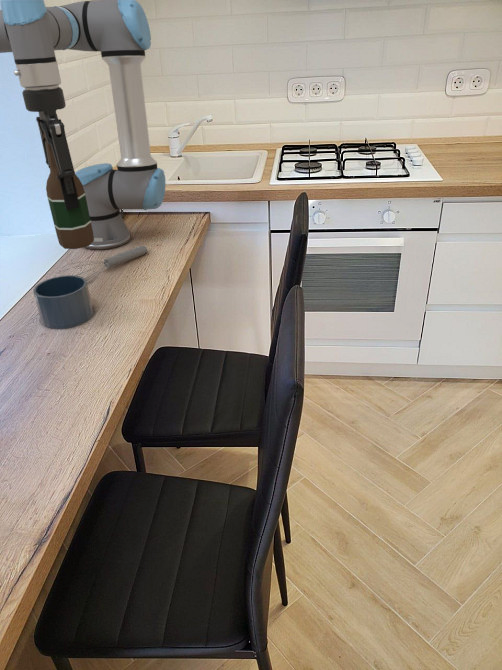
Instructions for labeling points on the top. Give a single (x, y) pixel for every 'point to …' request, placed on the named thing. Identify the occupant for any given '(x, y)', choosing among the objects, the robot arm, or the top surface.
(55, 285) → the metal cup
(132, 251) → the kitchen whisk
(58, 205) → the beer bottle
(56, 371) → the top surface
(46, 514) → the top surface
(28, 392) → the top surface
